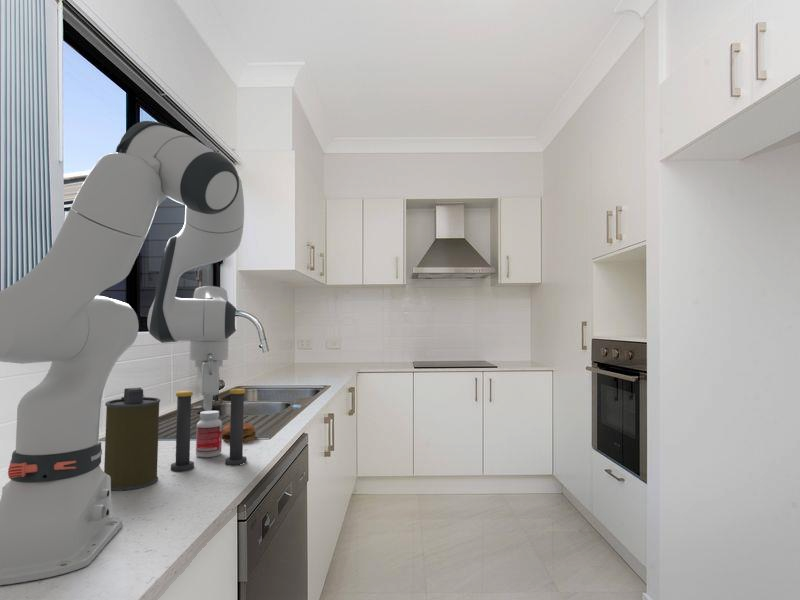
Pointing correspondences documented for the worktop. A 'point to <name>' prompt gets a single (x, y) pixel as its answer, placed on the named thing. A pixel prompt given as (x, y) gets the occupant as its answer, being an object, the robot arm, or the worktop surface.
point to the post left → (183, 432)
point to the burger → (247, 432)
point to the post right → (236, 428)
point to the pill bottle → (209, 435)
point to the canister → (132, 440)
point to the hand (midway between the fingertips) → (207, 409)
